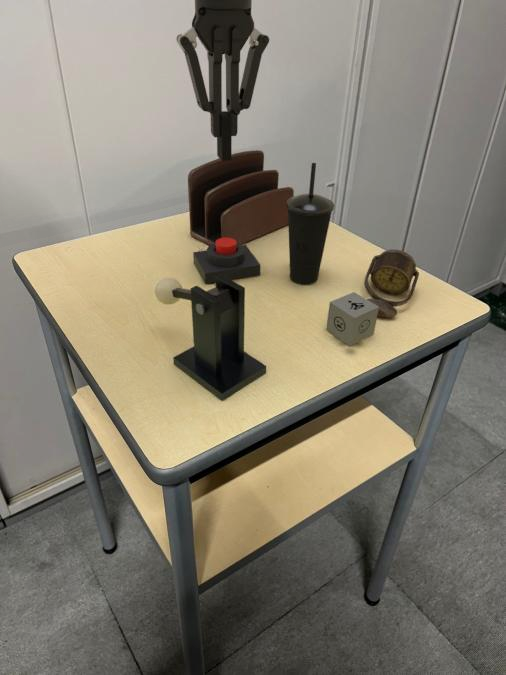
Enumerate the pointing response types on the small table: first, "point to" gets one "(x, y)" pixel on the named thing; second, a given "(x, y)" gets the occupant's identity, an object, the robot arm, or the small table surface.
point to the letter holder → (236, 199)
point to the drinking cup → (307, 233)
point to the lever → (188, 293)
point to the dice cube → (352, 318)
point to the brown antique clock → (391, 279)
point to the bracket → (219, 343)
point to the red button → (225, 246)
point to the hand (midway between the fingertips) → (224, 157)
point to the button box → (226, 264)
